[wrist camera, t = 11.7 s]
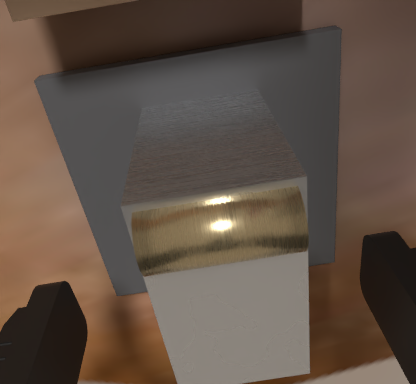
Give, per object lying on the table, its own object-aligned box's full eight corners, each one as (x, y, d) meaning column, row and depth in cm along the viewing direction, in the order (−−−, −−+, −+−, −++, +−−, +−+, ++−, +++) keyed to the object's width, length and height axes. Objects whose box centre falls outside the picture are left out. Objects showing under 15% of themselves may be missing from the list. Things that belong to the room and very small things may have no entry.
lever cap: (141, 108, 14) (115, 228, 8) (257, 89, 13) (318, 196, 8) (179, 260, 17) (180, 418, 11) (270, 246, 17) (317, 398, 11)
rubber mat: (39, 75, 13) (34, 81, 13) (335, 25, 13) (341, 29, 13) (118, 286, 19) (116, 296, 18) (330, 253, 18) (334, 262, 18)
